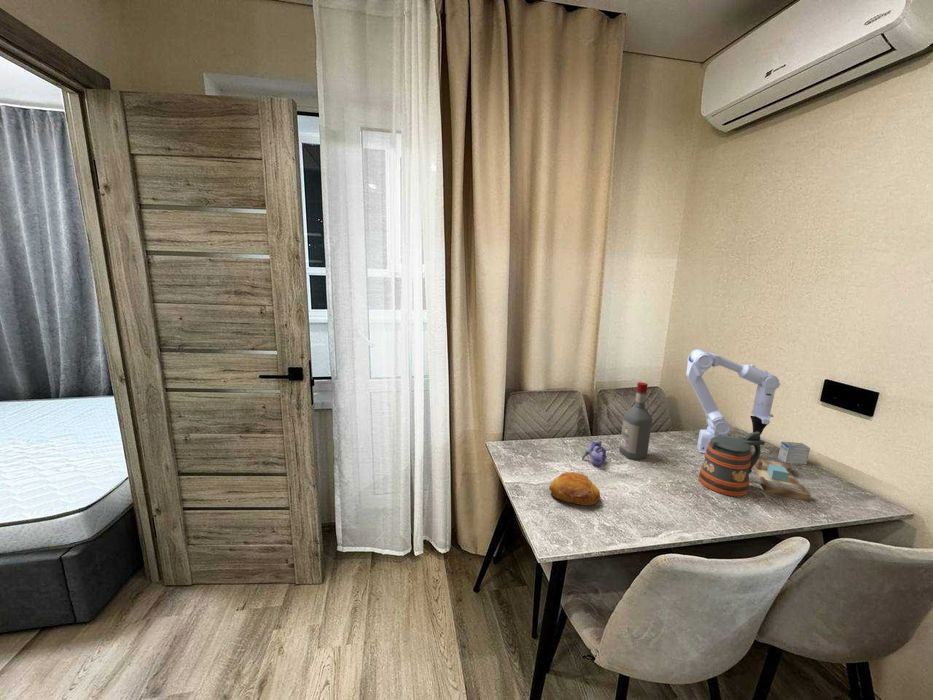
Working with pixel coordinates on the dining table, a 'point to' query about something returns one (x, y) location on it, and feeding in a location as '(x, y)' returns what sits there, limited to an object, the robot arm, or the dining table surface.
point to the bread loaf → (575, 489)
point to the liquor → (636, 427)
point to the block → (778, 473)
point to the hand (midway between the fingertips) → (756, 434)
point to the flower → (596, 454)
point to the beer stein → (730, 463)
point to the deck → (761, 471)
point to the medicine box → (794, 453)
